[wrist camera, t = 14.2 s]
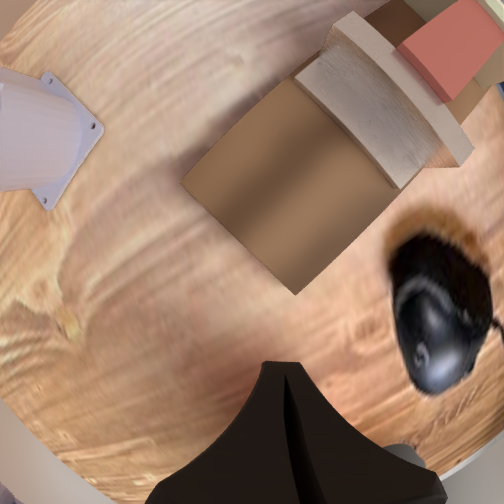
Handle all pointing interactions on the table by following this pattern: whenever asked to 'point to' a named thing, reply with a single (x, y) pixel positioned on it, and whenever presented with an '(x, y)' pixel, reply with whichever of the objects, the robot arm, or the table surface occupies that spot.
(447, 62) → the red block
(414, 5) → the book row
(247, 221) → the shelf board
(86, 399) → the table surface
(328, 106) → the bookend
